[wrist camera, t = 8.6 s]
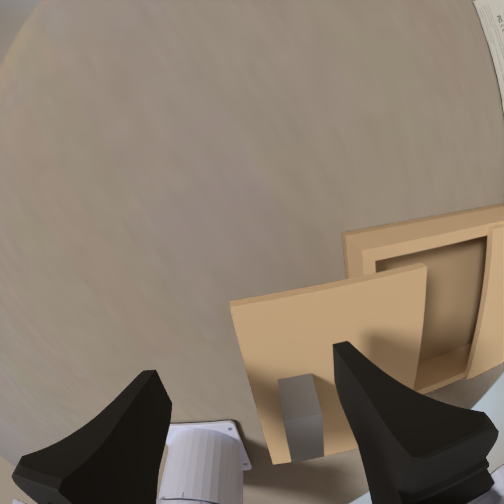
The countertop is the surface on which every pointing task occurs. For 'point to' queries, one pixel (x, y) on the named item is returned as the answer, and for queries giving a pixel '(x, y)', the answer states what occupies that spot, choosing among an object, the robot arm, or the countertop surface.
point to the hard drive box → (494, 34)
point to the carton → (445, 286)
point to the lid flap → (325, 353)
